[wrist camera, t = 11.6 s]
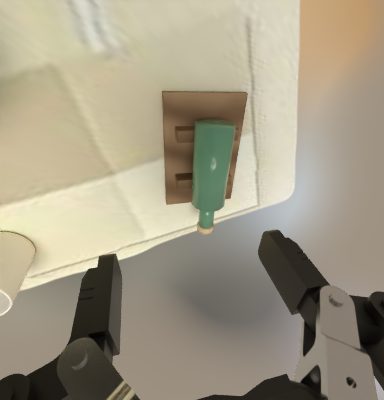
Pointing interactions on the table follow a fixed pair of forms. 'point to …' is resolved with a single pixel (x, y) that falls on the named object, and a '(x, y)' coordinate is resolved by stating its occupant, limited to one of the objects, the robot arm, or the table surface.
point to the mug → (13, 266)
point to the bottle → (211, 168)
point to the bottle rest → (184, 135)
